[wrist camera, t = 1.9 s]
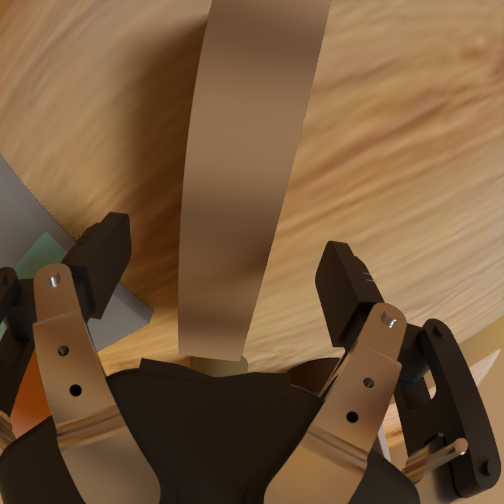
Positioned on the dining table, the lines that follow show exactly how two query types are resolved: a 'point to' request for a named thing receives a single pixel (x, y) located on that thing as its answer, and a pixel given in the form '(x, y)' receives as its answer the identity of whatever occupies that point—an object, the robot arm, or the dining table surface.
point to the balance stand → (55, 257)
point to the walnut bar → (240, 161)
